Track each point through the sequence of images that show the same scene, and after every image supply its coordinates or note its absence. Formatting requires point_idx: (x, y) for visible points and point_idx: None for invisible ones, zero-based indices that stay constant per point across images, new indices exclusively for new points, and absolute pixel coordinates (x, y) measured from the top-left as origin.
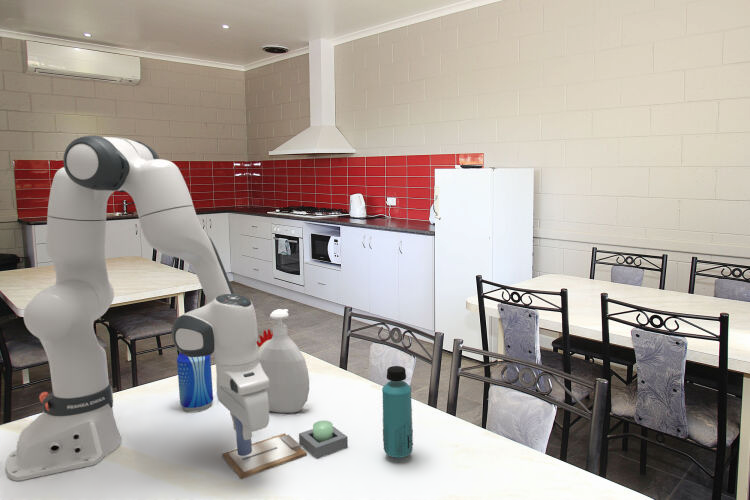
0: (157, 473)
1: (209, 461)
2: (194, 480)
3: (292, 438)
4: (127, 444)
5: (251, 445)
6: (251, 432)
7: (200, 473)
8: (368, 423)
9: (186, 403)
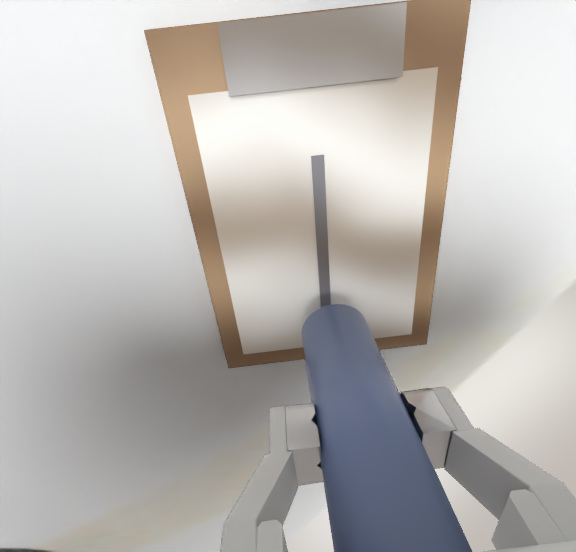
0: None
1: (245, 396)
2: None
3: (289, 19)
4: (34, 539)
5: (359, 325)
6: (463, 414)
7: None
8: None
9: None
